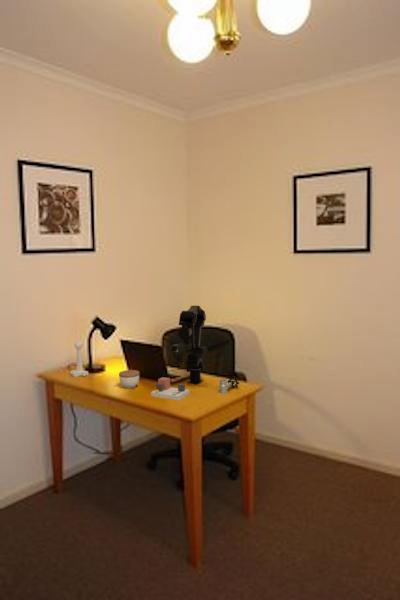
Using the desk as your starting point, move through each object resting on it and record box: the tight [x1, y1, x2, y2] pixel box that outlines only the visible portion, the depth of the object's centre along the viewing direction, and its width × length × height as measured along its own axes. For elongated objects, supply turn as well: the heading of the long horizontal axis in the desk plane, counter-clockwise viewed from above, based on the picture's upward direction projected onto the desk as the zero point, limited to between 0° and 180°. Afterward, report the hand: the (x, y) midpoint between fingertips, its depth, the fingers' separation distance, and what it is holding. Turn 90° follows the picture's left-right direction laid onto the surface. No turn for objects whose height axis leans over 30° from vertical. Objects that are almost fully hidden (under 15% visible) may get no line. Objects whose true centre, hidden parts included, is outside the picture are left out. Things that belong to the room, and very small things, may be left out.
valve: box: [218, 375, 240, 395], centre depth 237 cm, size 7×7×12 cm
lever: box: [177, 383, 186, 391], centre depth 232 cm, size 2×3×3 cm, turn 63°
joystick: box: [69, 340, 89, 378], centre depth 271 cm, size 11×8×20 cm
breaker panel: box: [150, 386, 191, 401], centre depth 233 cm, size 11×16×3 cm
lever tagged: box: [155, 383, 163, 391], centre depth 233 cm, size 2×3×3 cm, turn 63°
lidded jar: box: [118, 369, 140, 390], centre depth 247 cm, size 11×11×9 cm
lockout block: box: [157, 376, 171, 390], centre depth 237 cm, size 4×4×5 cm
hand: (189, 365), depth 239 cm, fingers open, 9 cm apart
